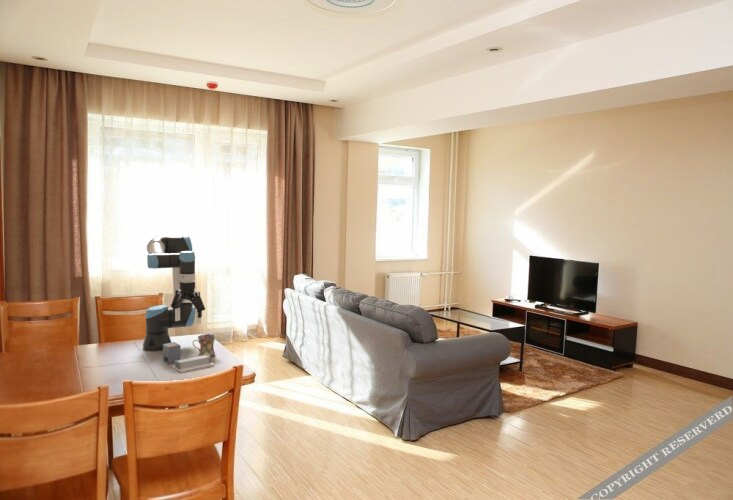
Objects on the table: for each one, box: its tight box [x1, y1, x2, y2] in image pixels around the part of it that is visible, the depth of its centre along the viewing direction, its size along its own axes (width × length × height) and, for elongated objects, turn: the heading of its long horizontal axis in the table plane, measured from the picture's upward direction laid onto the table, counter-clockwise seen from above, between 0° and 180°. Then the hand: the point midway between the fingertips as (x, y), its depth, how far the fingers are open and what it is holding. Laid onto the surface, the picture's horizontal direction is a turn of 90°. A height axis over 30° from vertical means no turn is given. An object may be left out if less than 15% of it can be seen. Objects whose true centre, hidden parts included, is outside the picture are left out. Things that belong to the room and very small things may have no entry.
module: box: [162, 341, 182, 365], centre depth 270 cm, size 8×6×9 cm
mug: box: [192, 333, 217, 357], centre depth 281 cm, size 12×9×11 cm
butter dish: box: [171, 354, 215, 374], centre depth 263 cm, size 11×17×4 cm, turn 132°
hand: (188, 322), depth 269 cm, fingers open, 13 cm apart
